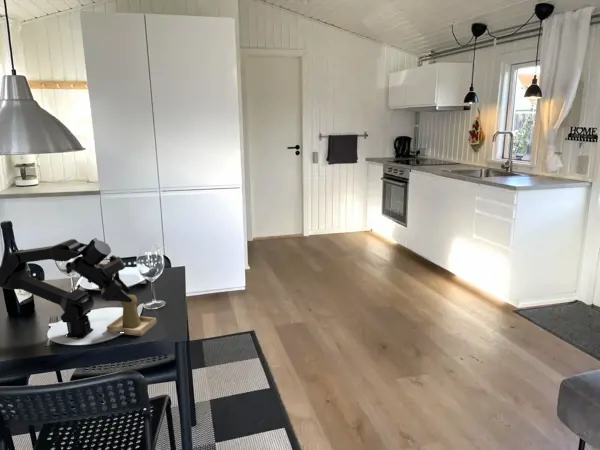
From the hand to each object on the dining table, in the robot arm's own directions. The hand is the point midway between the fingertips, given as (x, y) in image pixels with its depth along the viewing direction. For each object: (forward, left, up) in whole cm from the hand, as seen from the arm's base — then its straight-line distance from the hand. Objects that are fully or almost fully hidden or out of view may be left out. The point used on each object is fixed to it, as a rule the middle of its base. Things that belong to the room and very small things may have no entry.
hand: (130, 296), depth 154 cm
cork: (-1, 0, -11) cm, 11 cm away
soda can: (-30, +29, -12) cm, 43 cm away
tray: (0, 0, -12) cm, 12 cm away
